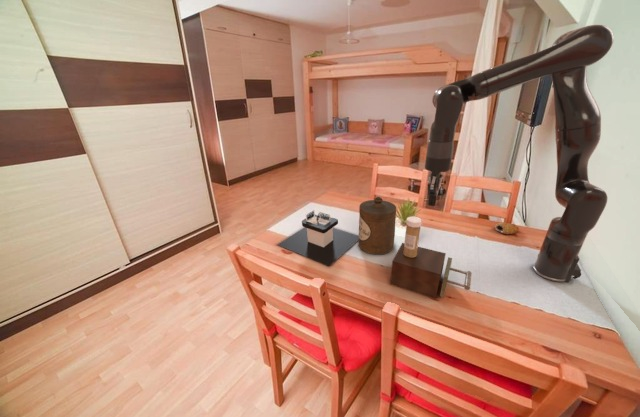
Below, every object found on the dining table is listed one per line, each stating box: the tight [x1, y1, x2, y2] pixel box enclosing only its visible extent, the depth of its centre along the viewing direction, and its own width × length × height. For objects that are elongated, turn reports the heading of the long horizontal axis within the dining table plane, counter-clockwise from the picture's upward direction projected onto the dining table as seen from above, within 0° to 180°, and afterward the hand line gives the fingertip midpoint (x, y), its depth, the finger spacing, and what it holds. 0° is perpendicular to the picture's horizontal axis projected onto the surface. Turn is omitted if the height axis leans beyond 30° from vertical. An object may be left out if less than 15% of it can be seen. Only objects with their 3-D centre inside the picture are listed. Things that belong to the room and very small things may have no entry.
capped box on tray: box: [277, 209, 359, 267], centre depth 114 cm, size 28×26×13 cm
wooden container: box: [358, 196, 397, 255], centre depth 108 cm, size 15×15×22 cm
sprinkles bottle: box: [403, 215, 422, 258], centre depth 86 cm, size 5×5×13 cm
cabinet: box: [389, 242, 447, 299], centre depth 89 cm, size 15×13×10 cm
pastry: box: [494, 221, 520, 235], centre depth 118 cm, size 9×7×4 cm
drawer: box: [439, 256, 472, 298], centre depth 86 cm, size 20×11×8 cm, turn 59°
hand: (431, 204), depth 90 cm, fingers closed
